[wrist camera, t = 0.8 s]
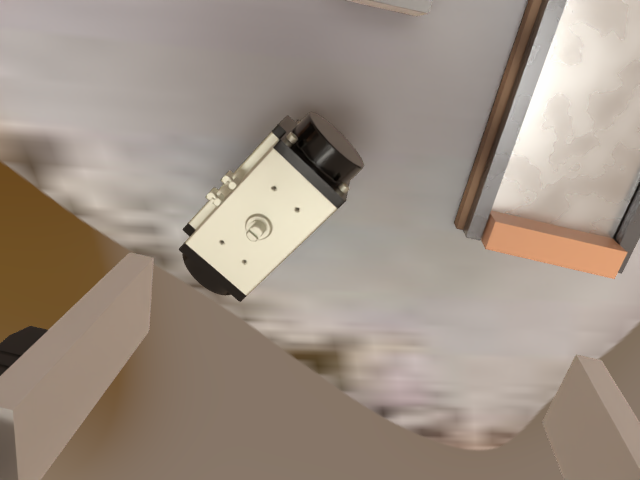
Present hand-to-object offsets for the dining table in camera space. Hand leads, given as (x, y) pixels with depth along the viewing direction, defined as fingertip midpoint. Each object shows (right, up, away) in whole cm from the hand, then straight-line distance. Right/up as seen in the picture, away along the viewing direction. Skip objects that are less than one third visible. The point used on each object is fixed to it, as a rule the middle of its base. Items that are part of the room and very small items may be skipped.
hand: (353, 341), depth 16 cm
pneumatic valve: (-3, +8, +23) cm, 24 cm away
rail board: (+17, +14, +18) cm, 28 cm away
